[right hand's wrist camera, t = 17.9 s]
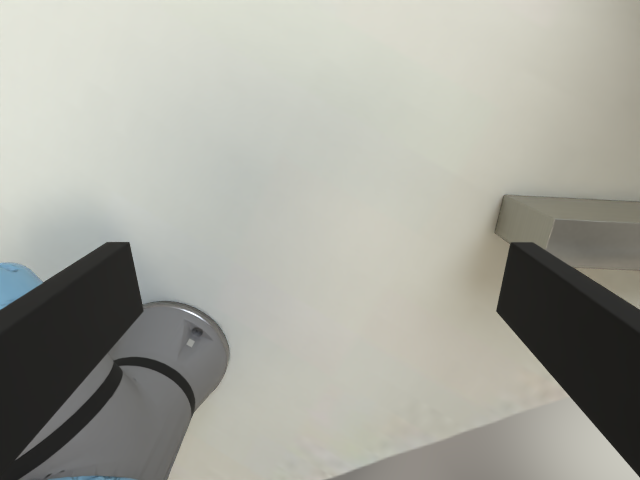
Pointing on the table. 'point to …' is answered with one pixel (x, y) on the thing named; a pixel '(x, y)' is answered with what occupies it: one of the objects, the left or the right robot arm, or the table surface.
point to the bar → (575, 229)
